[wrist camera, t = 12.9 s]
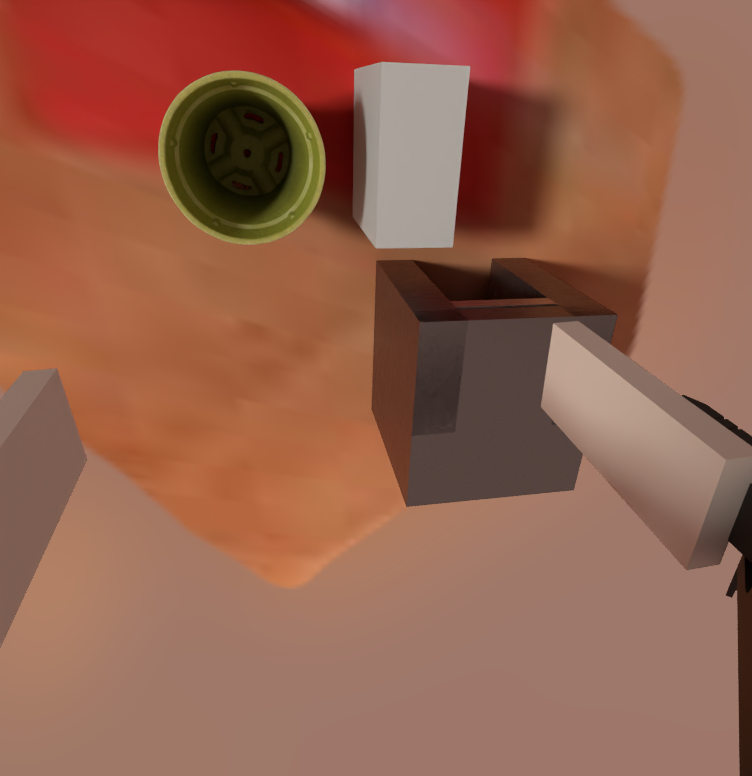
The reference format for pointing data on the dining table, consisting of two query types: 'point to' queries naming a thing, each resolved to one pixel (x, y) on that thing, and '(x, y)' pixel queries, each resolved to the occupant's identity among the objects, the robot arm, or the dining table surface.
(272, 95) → the plant pot
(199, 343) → the dining table surface
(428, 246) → the upright grey box
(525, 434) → the box
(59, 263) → the dining table surface
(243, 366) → the dining table surface
